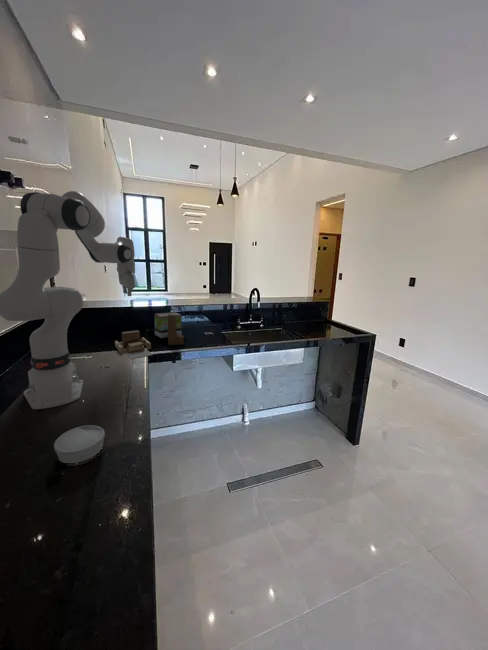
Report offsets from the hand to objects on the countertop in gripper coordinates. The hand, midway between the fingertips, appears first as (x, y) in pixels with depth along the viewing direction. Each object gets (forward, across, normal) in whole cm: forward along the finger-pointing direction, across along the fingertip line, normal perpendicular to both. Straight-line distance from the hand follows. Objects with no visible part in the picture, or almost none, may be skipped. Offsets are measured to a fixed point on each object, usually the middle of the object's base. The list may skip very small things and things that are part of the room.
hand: (127, 294), depth 147 cm
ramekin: (+29, -85, +31) cm, 95 cm away
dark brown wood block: (+30, 0, -1) cm, 30 cm away
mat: (+30, -17, -1) cm, 34 cm away
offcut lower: (+30, -9, -1) cm, 31 cm away
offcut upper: (+27, -9, -1) cm, 29 cm away
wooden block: (+30, -8, -25) cm, 40 cm away
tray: (+30, -4, -1) cm, 30 cm away
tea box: (+30, +13, -28) cm, 43 cm away
